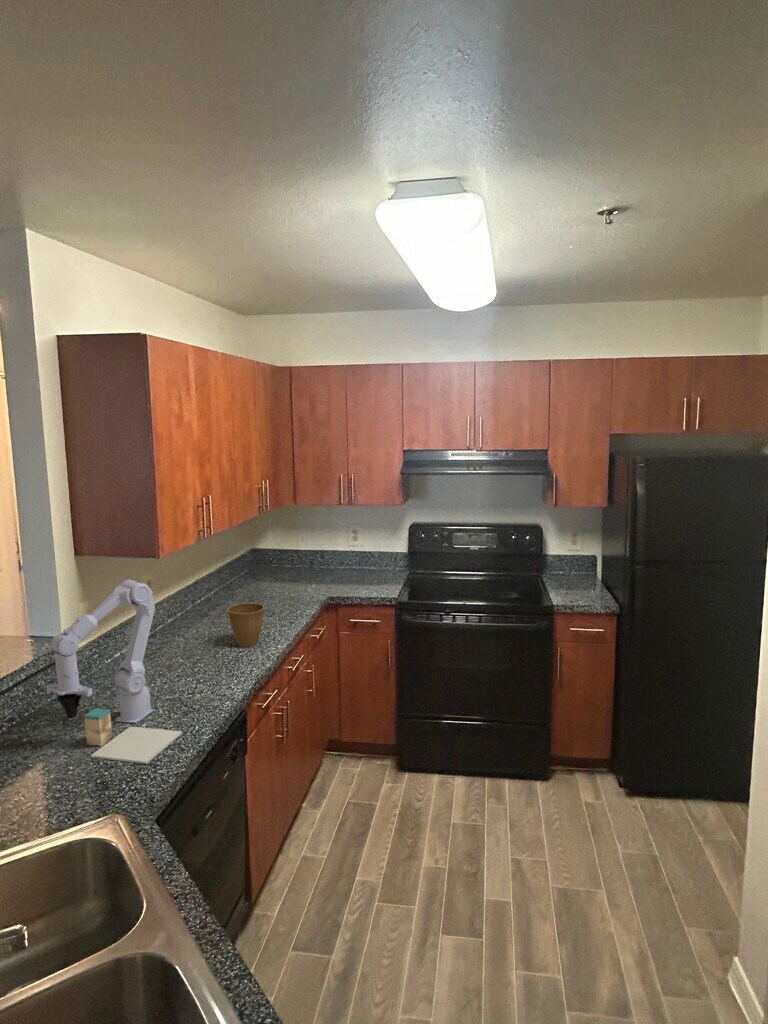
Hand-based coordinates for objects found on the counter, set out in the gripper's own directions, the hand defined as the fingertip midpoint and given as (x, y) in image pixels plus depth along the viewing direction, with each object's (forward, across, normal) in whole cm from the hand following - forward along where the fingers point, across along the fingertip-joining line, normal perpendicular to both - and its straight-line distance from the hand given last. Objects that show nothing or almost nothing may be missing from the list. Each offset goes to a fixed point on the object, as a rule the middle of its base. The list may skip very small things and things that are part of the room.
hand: (72, 716), depth 197 cm
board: (+7, +22, 0) cm, 23 cm away
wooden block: (+7, +9, 0) cm, 11 cm away
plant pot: (+7, +15, +86) cm, 88 cm away
